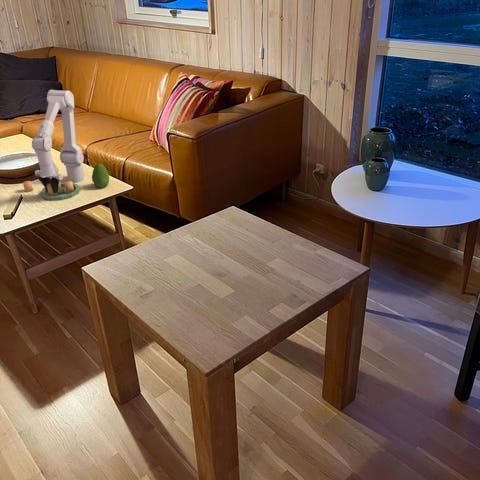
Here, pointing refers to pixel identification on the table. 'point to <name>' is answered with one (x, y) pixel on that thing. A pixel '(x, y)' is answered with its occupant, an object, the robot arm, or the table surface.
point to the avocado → (100, 176)
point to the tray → (60, 193)
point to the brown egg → (28, 186)
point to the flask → (55, 167)
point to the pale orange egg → (50, 190)
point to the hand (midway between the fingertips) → (52, 191)
